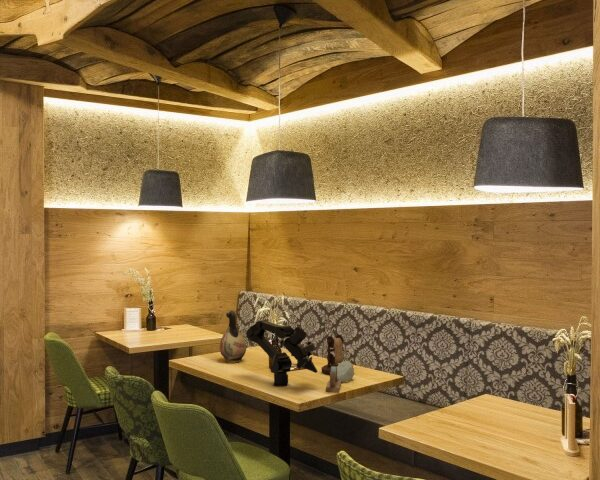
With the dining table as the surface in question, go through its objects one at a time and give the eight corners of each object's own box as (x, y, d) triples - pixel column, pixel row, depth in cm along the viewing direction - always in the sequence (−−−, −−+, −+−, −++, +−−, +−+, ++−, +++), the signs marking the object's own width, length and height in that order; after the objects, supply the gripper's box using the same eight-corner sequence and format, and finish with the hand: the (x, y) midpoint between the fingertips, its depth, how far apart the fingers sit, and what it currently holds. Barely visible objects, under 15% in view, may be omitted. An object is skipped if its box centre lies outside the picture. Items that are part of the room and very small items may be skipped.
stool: (325, 392, 285) (325, 372, 285) (328, 385, 299) (328, 365, 299) (338, 393, 284) (338, 372, 284) (341, 385, 298) (341, 366, 298)
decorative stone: (348, 376, 317) (337, 361, 316) (361, 372, 309) (350, 357, 308) (335, 393, 308) (323, 377, 307) (348, 389, 300) (336, 373, 299)
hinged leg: (329, 382, 291) (330, 367, 290) (330, 380, 293) (331, 366, 293) (334, 382, 290) (335, 368, 290) (335, 381, 293) (336, 366, 292)
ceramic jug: (217, 359, 361) (217, 308, 360) (243, 357, 365) (243, 307, 365) (222, 365, 344) (222, 312, 344) (249, 363, 349) (249, 311, 349)
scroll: (335, 377, 316) (335, 338, 315) (315, 372, 327) (315, 335, 326) (354, 373, 325) (354, 335, 325) (335, 368, 336) (335, 332, 336)
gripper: (303, 340, 284) (326, 364, 283) (308, 333, 303) (330, 356, 301) (286, 356, 285) (310, 381, 284) (292, 349, 304) (314, 372, 302)
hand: (316, 372), depth 293 cm, fingers closed
